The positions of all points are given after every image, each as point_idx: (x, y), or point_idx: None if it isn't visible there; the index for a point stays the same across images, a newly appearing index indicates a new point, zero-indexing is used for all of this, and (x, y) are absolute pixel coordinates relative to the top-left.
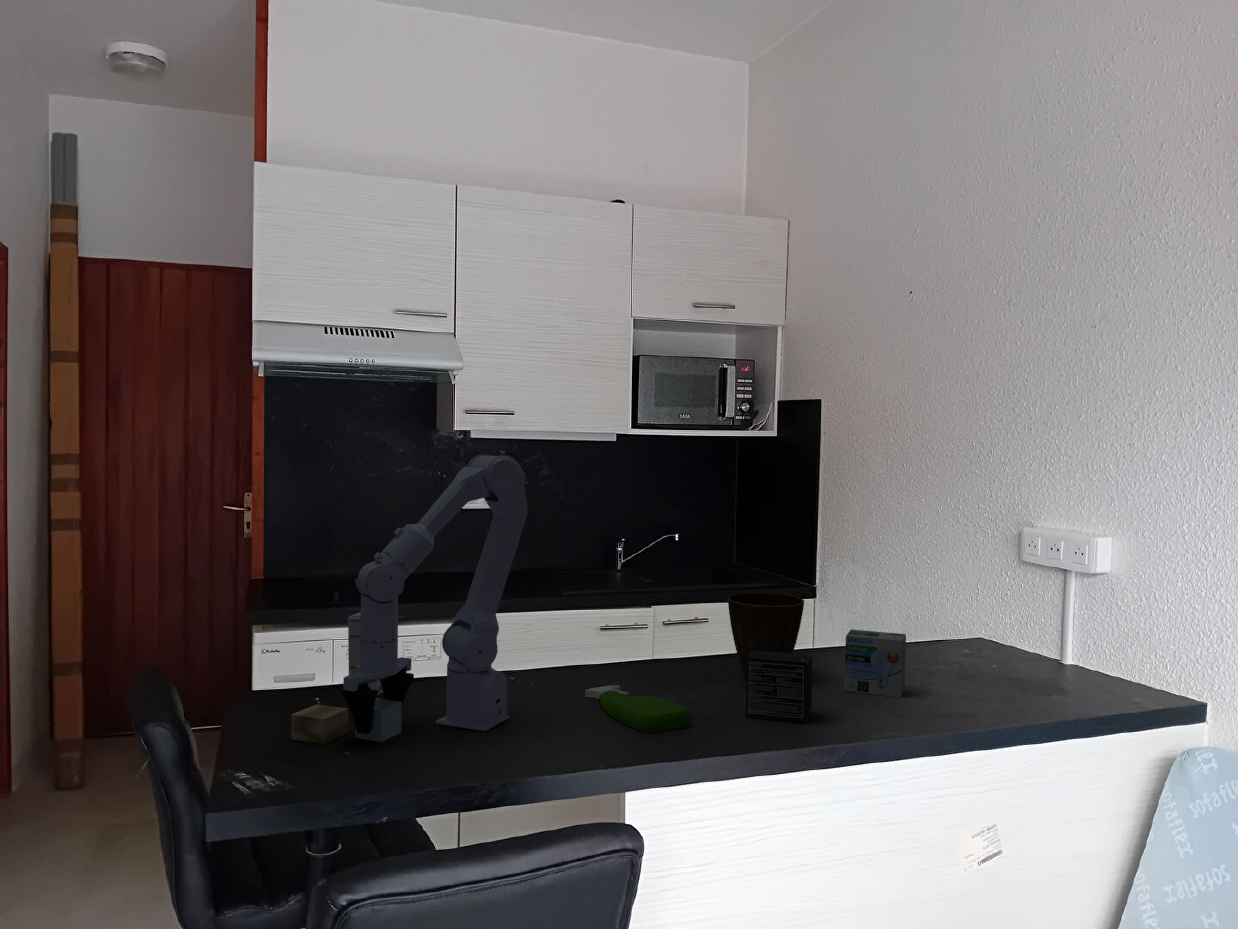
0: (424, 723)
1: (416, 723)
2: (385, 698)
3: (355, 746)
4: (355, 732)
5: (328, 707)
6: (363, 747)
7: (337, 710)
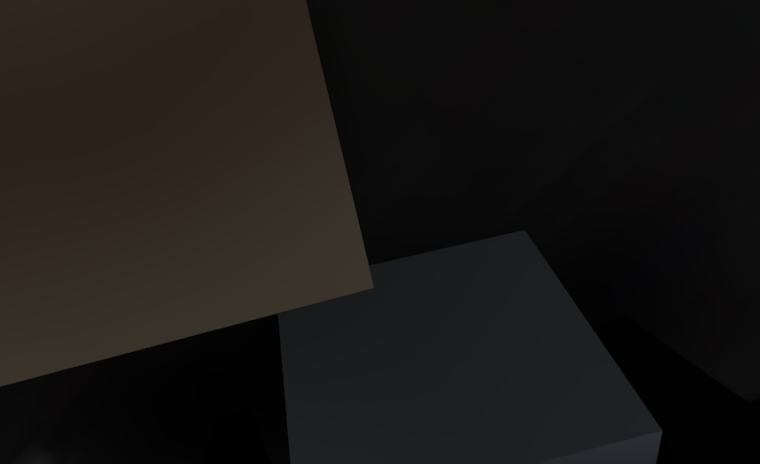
0: (738, 355)
1: (726, 326)
2: (714, 452)
3: (153, 416)
4: (279, 319)
5: (237, 41)
6: (180, 454)
7: (226, 265)
